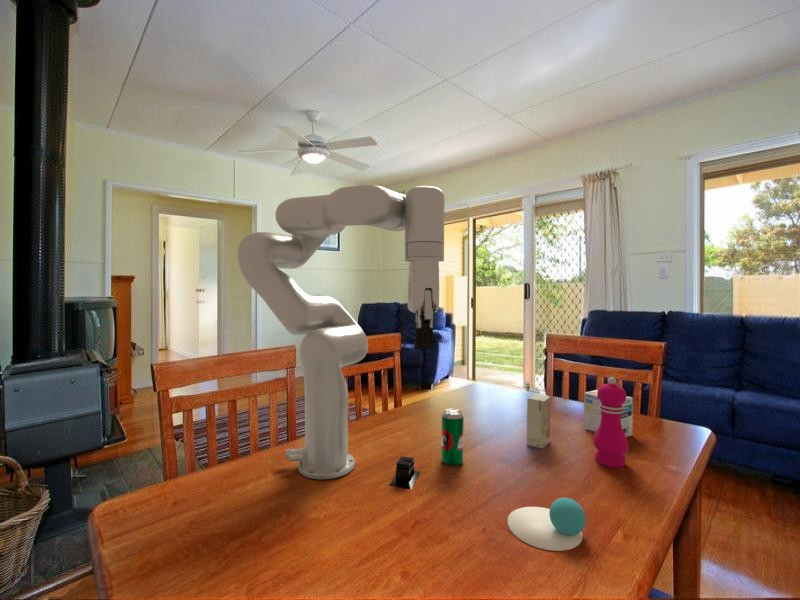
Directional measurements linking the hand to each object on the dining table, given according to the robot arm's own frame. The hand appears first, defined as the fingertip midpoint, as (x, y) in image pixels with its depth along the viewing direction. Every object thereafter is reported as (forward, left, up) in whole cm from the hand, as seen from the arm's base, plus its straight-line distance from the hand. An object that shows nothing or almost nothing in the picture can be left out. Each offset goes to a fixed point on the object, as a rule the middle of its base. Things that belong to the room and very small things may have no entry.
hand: (423, 348), depth 77 cm
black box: (-3, +7, -30) cm, 31 cm away
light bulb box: (+57, +29, -29) cm, 70 cm away
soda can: (+9, +14, -29) cm, 34 cm away
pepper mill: (+46, +11, -29) cm, 56 cm away
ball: (+22, -14, -26) cm, 37 cm away
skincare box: (+34, +23, -29) cm, 50 cm away
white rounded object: (+19, -12, -29) cm, 37 cm away
